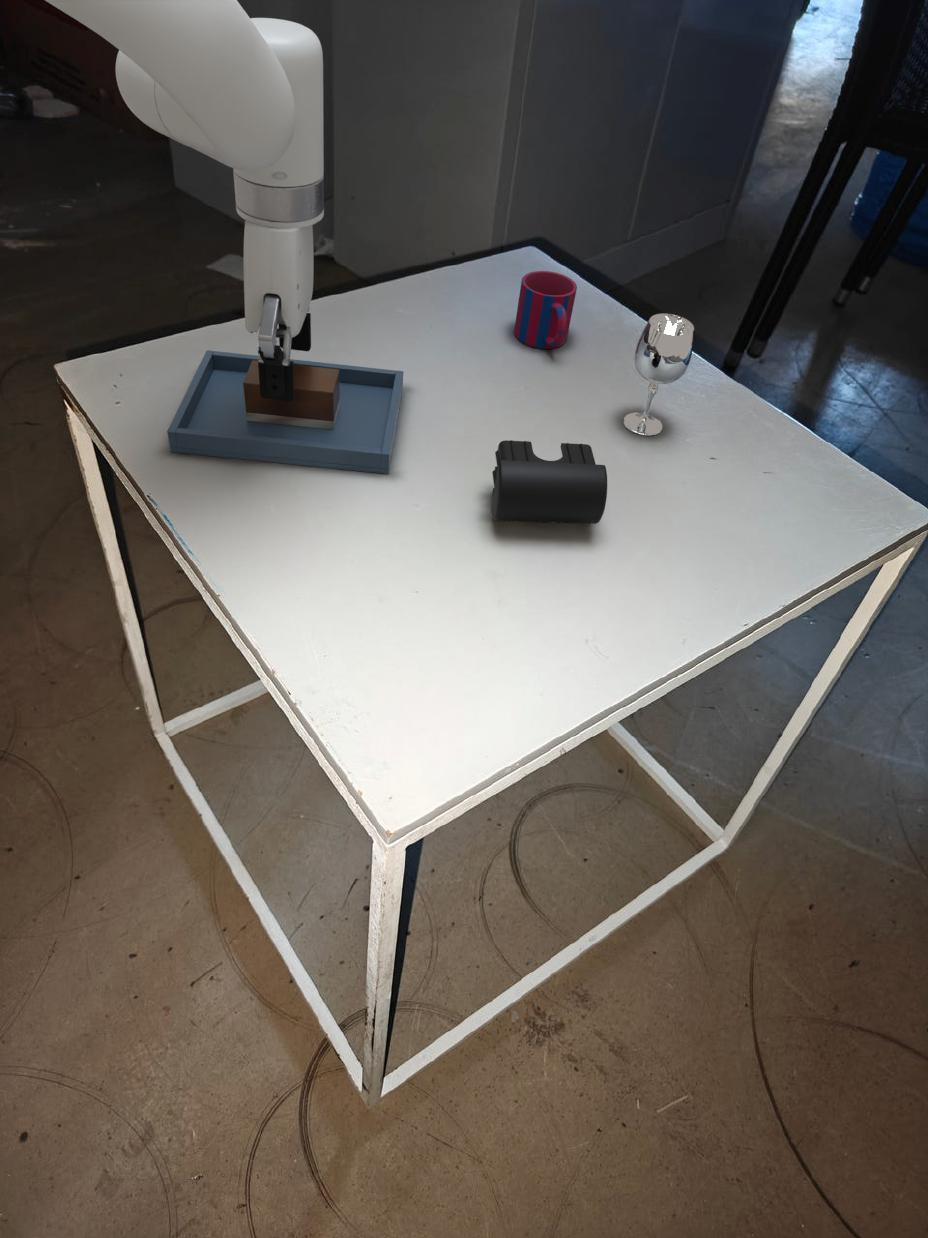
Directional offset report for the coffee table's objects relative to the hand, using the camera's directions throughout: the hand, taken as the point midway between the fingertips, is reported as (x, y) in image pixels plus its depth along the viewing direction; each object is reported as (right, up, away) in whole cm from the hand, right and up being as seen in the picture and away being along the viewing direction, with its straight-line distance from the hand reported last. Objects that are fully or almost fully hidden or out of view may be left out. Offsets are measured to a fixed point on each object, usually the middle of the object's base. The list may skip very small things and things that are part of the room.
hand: (286, 372), depth 86 cm
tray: (0, -4, +4) cm, 6 cm away
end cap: (+25, -15, -3) cm, 29 cm away
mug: (+28, +10, +21) cm, 36 cm away
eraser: (0, -3, +4) cm, 5 cm away
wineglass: (+38, -3, +10) cm, 39 cm away
